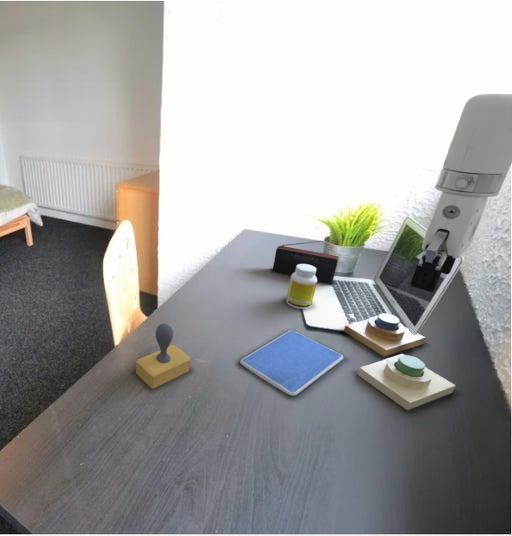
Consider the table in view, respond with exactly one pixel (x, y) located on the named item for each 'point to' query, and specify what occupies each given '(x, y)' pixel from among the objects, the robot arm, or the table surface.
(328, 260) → the radio
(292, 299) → the pill bottle
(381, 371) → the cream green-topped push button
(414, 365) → the green button
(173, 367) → the rubber stamp
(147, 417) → the table surface
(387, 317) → the blue button
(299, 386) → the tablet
